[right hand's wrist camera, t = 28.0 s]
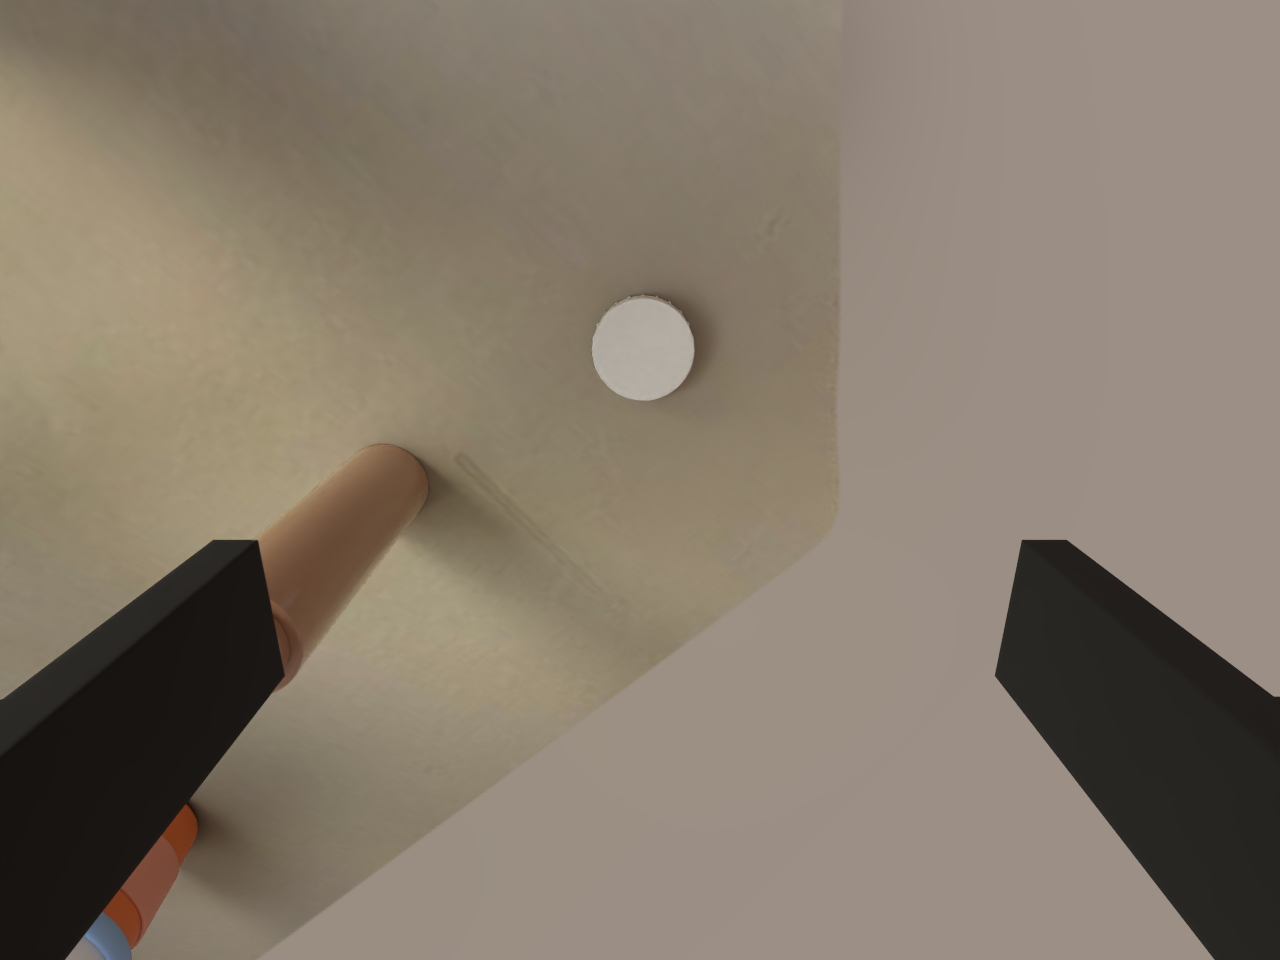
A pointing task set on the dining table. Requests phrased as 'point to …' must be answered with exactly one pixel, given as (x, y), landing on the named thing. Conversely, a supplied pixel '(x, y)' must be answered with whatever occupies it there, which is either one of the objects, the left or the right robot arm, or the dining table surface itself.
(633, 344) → the lid
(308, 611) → the jar
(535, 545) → the dining table surface
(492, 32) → the dining table surface
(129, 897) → the cup with straw
